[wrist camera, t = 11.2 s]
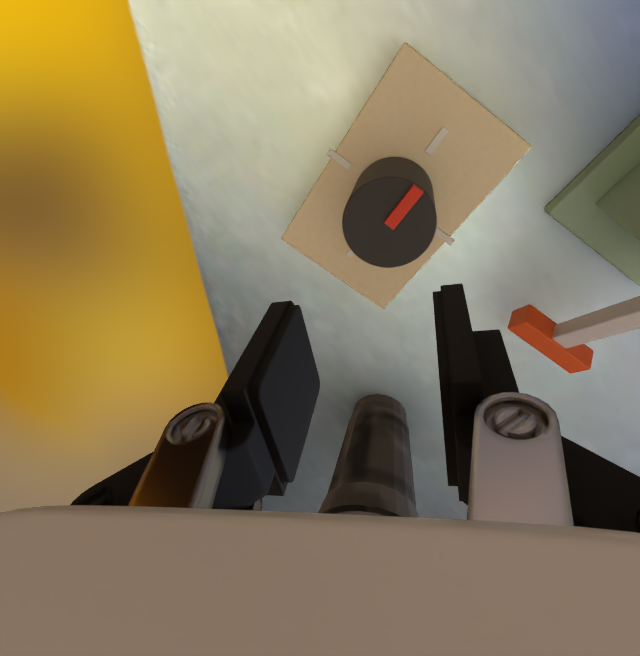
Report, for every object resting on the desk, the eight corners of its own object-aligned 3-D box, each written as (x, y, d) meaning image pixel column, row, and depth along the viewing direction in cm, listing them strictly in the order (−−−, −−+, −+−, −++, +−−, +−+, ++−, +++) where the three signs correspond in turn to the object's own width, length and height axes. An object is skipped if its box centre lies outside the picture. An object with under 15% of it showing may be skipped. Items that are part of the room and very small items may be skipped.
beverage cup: (343, 443, 39) (292, 725, 23) (331, 382, 35) (259, 666, 19) (424, 445, 37) (431, 753, 21) (420, 381, 34) (426, 694, 17)
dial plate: (389, 290, 30) (387, 313, 27) (288, 220, 28) (275, 237, 26) (524, 140, 23) (537, 151, 21) (401, 39, 22) (399, 37, 19)
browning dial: (398, 250, 25) (395, 287, 21) (338, 206, 24) (323, 236, 20) (450, 189, 23) (458, 217, 19) (385, 138, 22) (378, 157, 18)
